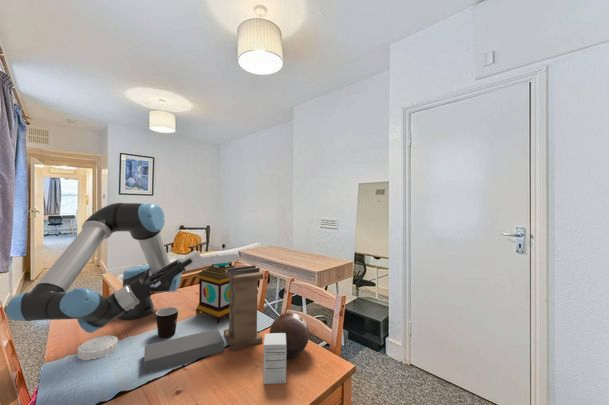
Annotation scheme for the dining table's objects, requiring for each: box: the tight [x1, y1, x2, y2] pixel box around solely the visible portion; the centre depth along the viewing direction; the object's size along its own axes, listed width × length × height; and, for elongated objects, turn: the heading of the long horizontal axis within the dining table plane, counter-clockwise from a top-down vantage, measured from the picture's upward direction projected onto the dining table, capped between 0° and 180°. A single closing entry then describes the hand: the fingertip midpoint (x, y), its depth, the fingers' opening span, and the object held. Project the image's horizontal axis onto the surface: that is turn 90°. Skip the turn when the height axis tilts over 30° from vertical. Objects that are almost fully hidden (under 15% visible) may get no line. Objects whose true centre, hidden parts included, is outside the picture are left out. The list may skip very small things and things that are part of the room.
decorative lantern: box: [195, 262, 236, 324], centre depth 132 cm, size 20×20×30 cm
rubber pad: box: [143, 328, 225, 374], centre depth 97 cm, size 11×26×4 cm, turn 121°
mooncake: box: [77, 334, 119, 361], centre depth 98 cm, size 12×12×4 cm
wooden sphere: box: [269, 312, 310, 358], centre depth 98 cm, size 15×15×15 cm
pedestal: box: [223, 264, 264, 352], centre depth 108 cm, size 14×12×30 cm
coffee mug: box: [155, 306, 179, 339], centre depth 112 cm, size 12×9×10 cm
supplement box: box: [262, 332, 287, 385], centre depth 86 cm, size 7×7×13 cm
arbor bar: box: [176, 252, 239, 268], centre depth 101 cm, size 3×22×3 cm, turn 121°
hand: (198, 253), depth 99 cm, fingers closed on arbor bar, 3 cm apart
